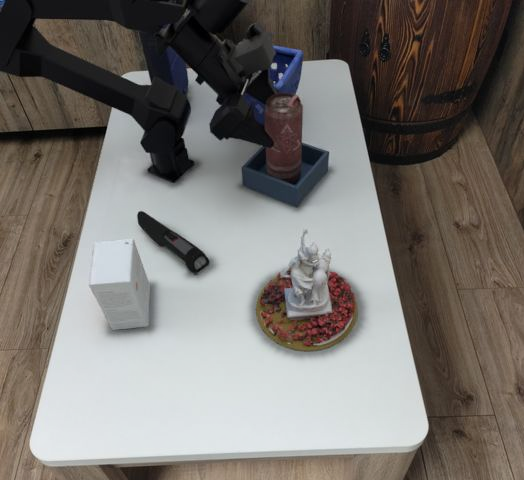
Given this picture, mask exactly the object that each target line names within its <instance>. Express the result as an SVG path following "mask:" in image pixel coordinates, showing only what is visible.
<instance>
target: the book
mask: <svg viewBox="0 0 524 480" xmlns="http://www.w3.org/2000/svg"><path fill="white" fill-rule="evenodd" d="M174 4H175V3H174ZM168 25H169V24H167V25H164V26H163V28H162V29H166V28H167V26H168ZM138 35H139V40H140V43H141V48H142V53H143V55H144V60H145V64H146V69H147V72H148V77H149V81H150V84H151V83H152V81H153V79H154V77H156V78H159V79H161V80H163V81H164V82H166V83H167V84H170V85H173V86H178V90H179V91H181V92H182V93H184V94H185V95H186V96H187V95H188V92H189V91H188V88H189V75H188V68H187V64H186V63H185V62H184V61H183V60H182V59H181V58H180V57H179V56H178V55H177V54H176V53H175V52H174V51H173V50H172V49H171V48H170V47H168V48H167V49H166V50H165V52H164V53H163V54H162V56H158V55H157V48H156V40H155V37H154V35H155V33H152V34H150V33H144V32H139V31H138Z"/></svg>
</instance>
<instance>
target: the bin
mask: <svg viewBox="0 0 524 480" xmlns="http://www.w3.org/2000/svg"><path fill="white" fill-rule="evenodd" d="M329 160H330V150H329V151H328V150H325V149H323V148H319V147H316V146H314V145H311V144H308V143H305V142H302V155H301V176H300V178H299V180H298V181H297V182H296V183H294V184H290V183H287V182H285V181H282V180H279V179H277V178H274V177H271V176H269V175H267V165H266V147H264V146H261V147H260V148H259V149H258V150H257V151H255V153H253V155H252V156H251V157H250V158H249V159H248V160H247V161H246V162H245V163H244V164H243V165H242V166H241V167H240V169H241V177H242V178H241V181H242V187H244V188H246V189H249V190H252V191H254V192H257V193H259V194H262V195H264V196H266V197H269V198H271V199H274V200H276V201H279V202H282V203H284V204H287V205H289V206H291V207H294V208H298V207H299V206H300V204H301V203H302V202H303V201H304V200H305V199H306V198H307V196H308V195H309V194H310V192H311V191H312V190H313V189H314V188H315V187H316V185H317V184H318V183H319V182H320V181H321V179H322V178H323V177H324V176H325V175H326V173H328V170H329V162H330V161H329Z"/></svg>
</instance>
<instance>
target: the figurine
mask: <svg viewBox="0 0 524 480" xmlns="http://www.w3.org/2000/svg"><path fill="white" fill-rule="evenodd" d="M308 230H309V229H308V228H307V229H303V231H302V235H301V237H300V246H299V247H298V249H297V255H295V256H294V257H292V258H291V259H290V261H289V262H288V265H287V267H285V269H284V270H282V272H281V271H279V273H276V275H277V276H276V277H274V278H272V279H270V281H269V282H268V283H267V284H266V285H265V286H264V287H263V288H262V290H261V291H260V293H259V295H258V297H257V299H256V304H255V313H256V314H255V315H256V320H257V322H258V325H259V326H260V328H261V330H262V332H263V333H264V334H265V335H266V336H267V337H268V338H269V339H270V340H271V341H273V342H275V343H276V344H278V345H279V346H282V347H285V348H287V349H290V350H294V351H298V352H315V351H316V352H317V351H321V350H326V349H329V348H331V347H333V346H336V345H337V344H338V343H340V342H342V341H343V340H345V339H346V337H348V335H350V333H351V332H352V330H353V329H354V327H355V325H356V322H357V320H358V319H357V318H358V313H359V311H358V308H359V307H358V302H357V299H356V294H355V293H354V292H353V291H352V290H351V288H352V287H351V285H350V282H348V283H347V282H346V279H345V278H344V277H342V276H341V275H339V274H338V272H336V271H330V265H331V261H332V252H331V251H330V248H326V249H325V252H323V253H322V255H321V254H320V252H319V251H320V250H319V246H318V245H317V243H316V242H312V243H311V244H310V245H309V247H308V246H306V245H305V235H307V234H308V233H309V231H308Z"/></svg>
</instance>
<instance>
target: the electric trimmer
mask: <svg viewBox="0 0 524 480" xmlns="http://www.w3.org/2000/svg"><path fill="white" fill-rule="evenodd" d="M136 218H137V219H136V220H137V224H138V226H139V227H140V229H142V230H143V232H144V233H145V234H146V235H147V236H148V237H149V238H150V239H151V240H152V241H153V242H154V243H155V244H156V245H157V246H158V247H159V248H167V249H168V250H169V251H170V252H171V253H173V254H174V255H175V256H176V257H178V258H179V259H180V260H181V261H182V262H184V265H185V266H186V268H187V269H188V271H189V272H190V273H192V274H196V275H199V274H200V273H201V272H203V271H204V270H205V269H207V268H208V267H209V265H210V263H211V262H210V259H209V257H208V256H207V255H206V253H205V252H204V251H203V250H201V248H200V247H198V246H197V245H195V244H193V243H192V242H190V241H189V240H188V239H186V238H185V237H183V236H182V235H180V234H179V233H177V232H175V231H173V230H172V229H171V228H169V227H167V226H166V225H164V224H163V223H161V222H160V221H158V220H157V219H156V218H154V217H153V216H151V215H149V214H148V213H147V212H145V211H143V210H140V211H138V212H137V214H136Z"/></svg>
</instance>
